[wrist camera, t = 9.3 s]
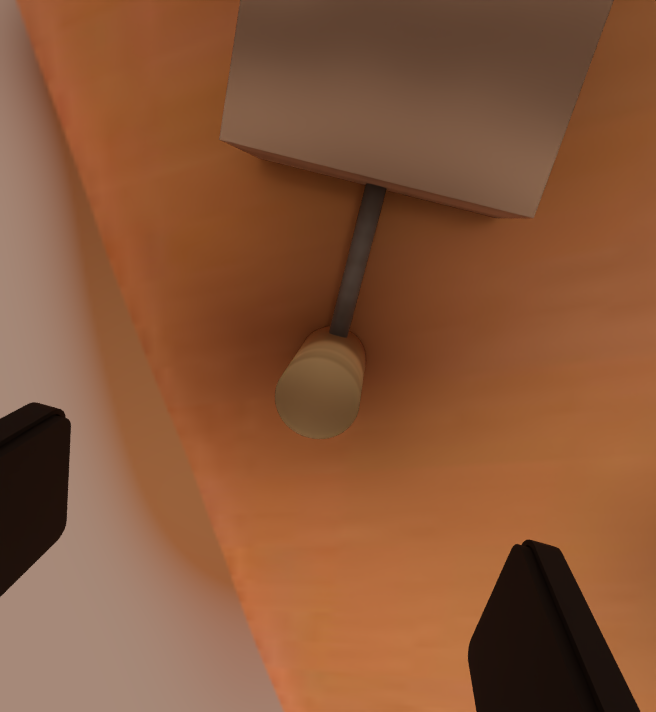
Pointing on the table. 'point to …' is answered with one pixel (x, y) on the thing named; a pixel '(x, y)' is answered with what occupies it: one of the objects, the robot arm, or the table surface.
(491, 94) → the brown handled block
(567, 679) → the robot arm
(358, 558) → the table surface
